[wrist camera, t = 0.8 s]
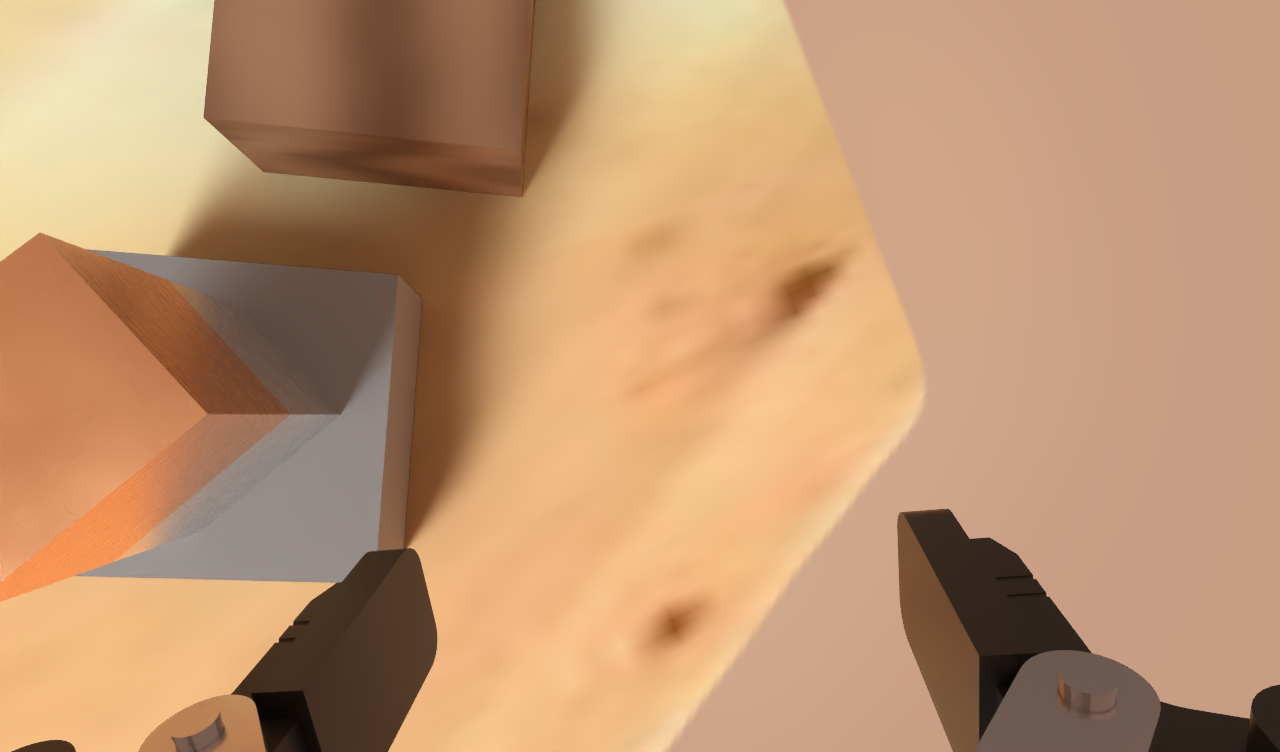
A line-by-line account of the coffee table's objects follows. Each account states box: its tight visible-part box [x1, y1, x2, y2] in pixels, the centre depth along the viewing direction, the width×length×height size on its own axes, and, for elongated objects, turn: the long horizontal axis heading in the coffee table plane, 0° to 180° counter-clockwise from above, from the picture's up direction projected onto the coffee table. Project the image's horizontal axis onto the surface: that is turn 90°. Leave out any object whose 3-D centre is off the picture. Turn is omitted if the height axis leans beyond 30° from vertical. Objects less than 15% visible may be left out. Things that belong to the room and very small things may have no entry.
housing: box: [0, 233, 340, 602], centre depth 21 cm, size 5×6×11 cm
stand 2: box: [75, 249, 422, 583], centre depth 29 cm, size 11×11×6 cm
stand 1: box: [204, 0, 535, 197], centre depth 31 cm, size 11×11×6 cm
